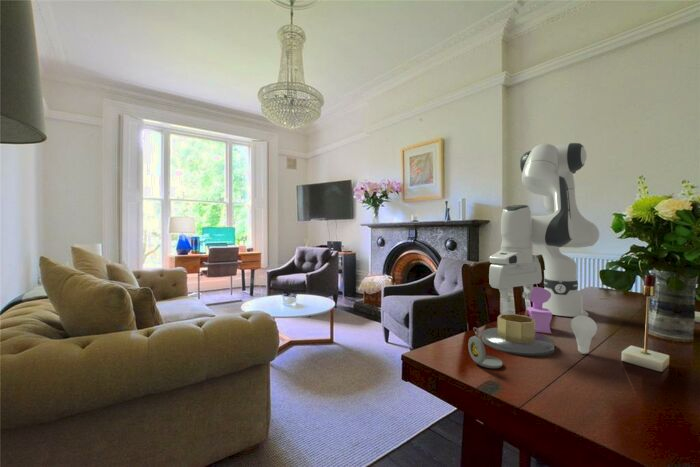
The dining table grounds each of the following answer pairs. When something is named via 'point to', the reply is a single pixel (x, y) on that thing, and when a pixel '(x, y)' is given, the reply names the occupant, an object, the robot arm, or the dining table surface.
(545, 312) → the toy chair
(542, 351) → the lamp base
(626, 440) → the dining table surface
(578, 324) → the lightbulb
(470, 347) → the pocket watch
